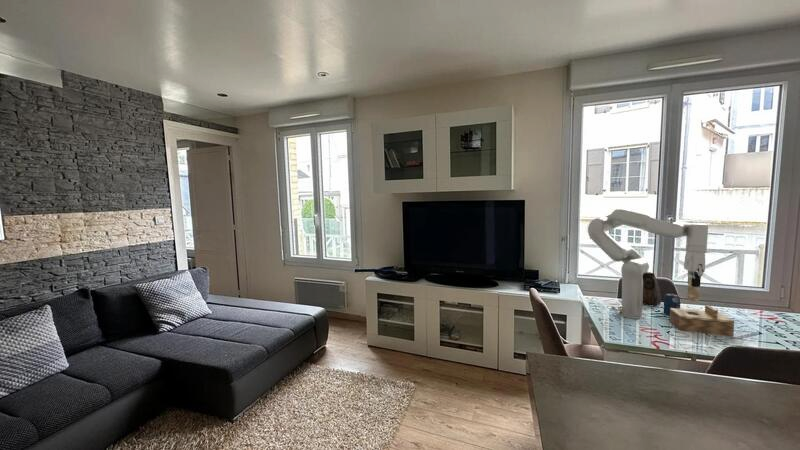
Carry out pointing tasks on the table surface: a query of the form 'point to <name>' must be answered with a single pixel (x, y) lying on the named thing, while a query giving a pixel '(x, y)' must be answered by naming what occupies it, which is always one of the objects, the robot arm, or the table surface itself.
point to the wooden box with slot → (702, 325)
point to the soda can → (671, 302)
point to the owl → (651, 289)
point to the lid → (702, 314)
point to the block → (692, 290)
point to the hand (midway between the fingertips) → (693, 285)
